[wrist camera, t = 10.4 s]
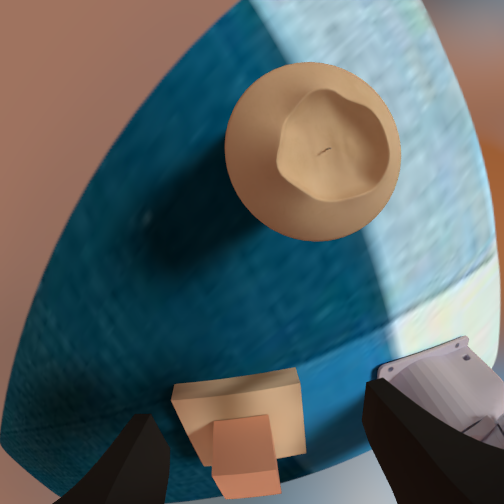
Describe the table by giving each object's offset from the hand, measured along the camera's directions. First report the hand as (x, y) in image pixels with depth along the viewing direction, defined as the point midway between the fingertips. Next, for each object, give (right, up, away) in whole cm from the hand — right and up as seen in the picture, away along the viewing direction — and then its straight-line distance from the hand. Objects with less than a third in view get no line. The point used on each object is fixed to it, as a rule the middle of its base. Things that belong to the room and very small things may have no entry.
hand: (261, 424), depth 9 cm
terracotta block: (-1, -8, +11) cm, 14 cm away
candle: (+1, +11, +8) cm, 14 cm away
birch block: (-1, -7, +14) cm, 16 cm away
